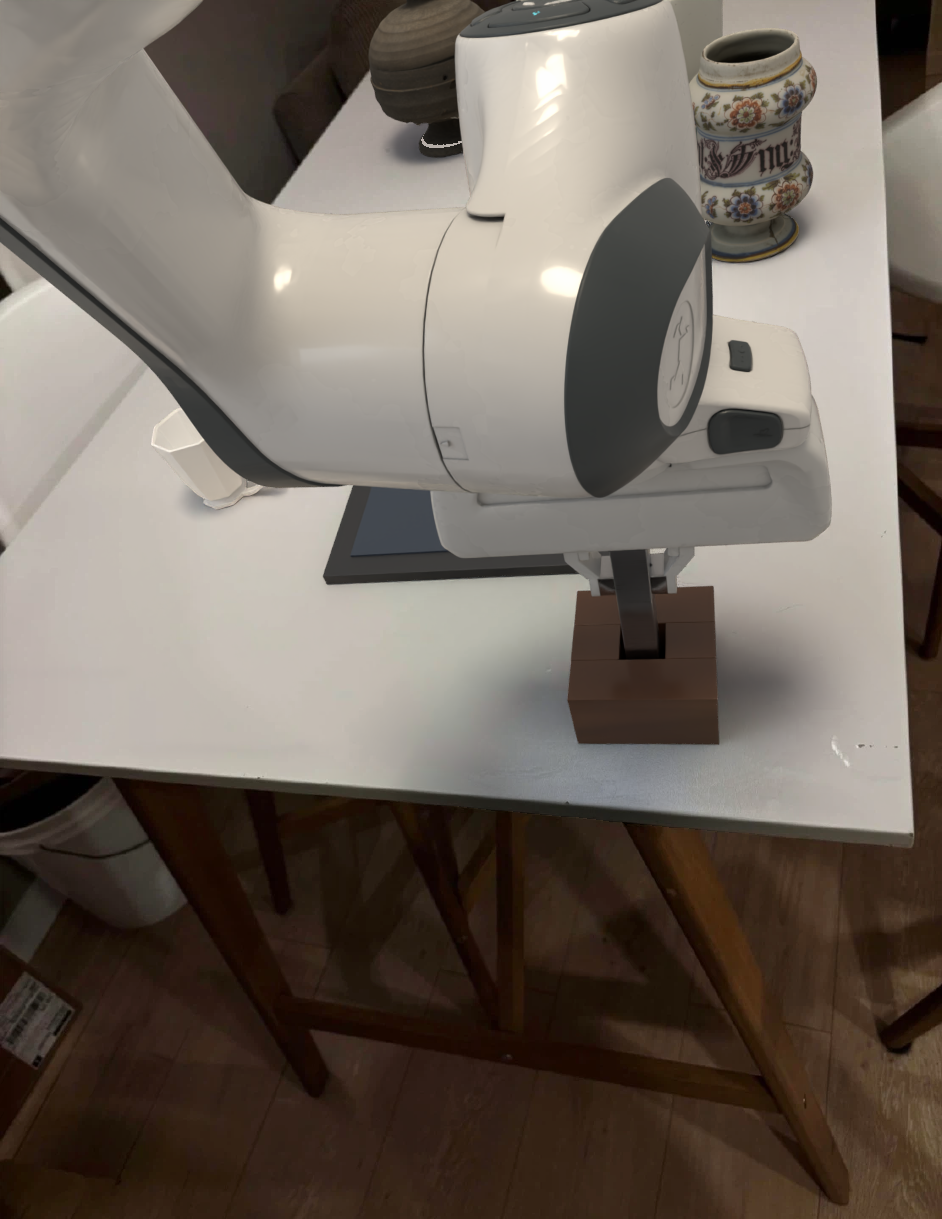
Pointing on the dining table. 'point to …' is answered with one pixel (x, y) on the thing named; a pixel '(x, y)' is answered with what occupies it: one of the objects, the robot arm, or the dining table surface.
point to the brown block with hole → (645, 674)
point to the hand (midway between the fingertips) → (635, 586)
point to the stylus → (636, 603)
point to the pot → (421, 68)
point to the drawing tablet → (412, 544)
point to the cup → (198, 462)
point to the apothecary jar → (752, 140)
